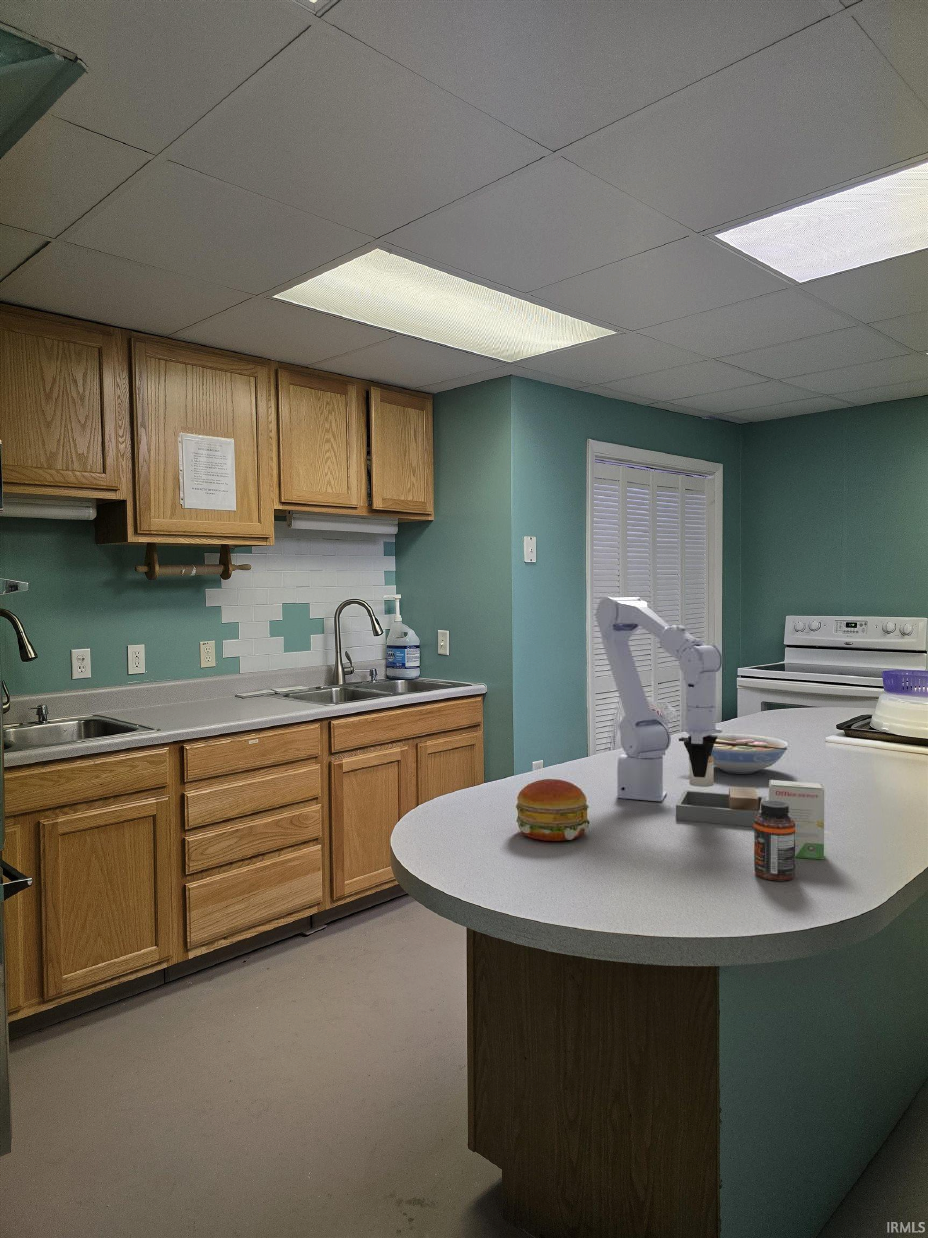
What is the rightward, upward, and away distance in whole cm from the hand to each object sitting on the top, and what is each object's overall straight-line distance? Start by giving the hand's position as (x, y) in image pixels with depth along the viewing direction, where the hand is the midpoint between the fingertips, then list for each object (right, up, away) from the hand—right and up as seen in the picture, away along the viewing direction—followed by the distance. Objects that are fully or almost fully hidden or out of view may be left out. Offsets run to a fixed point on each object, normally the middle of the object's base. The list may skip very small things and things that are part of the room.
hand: (700, 774), depth 162 cm
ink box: (+8, -9, -25) cm, 28 cm away
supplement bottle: (+1, -9, -36) cm, 37 cm away
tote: (+4, -8, -1) cm, 9 cm away
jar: (0, -2, 0) cm, 2 cm away
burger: (-31, -9, -14) cm, 35 cm away
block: (+7, -8, -3) cm, 11 cm away
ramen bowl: (+21, -7, +39) cm, 44 cm away
